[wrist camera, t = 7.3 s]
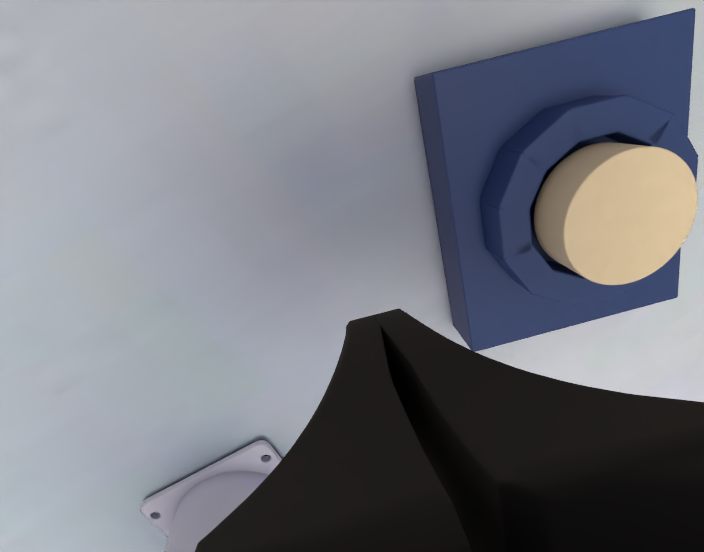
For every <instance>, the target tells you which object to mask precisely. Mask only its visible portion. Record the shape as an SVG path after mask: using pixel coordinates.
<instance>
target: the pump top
mask: <svg viewBox="0 0 704 552" xmlns="http://www.w3.org/2000/svg"><path fill="white" fill-rule="evenodd" d="M697 203H698V193H697V185H696V182H695V178H694V176H693V173H692V171H691V170H690V168H689V167H688V165H687V164H686V163H685V162H684V161H683V160H682V159H681V158H680V157H679V156H678V155H676V154H675V153H673V152H671V151H669V150H667V149H663V148H660V147H652V146H643V145H633V144H624V143H614V142H601V143H596V144H592V145H588V146H585V147H583V148H581V149H579V150H577V151H575V152H574V153H572V154H570V155H569V156H567V157H566V158H565V159H564V160H562V161H561V162H560V163H559V164H558V165H557V166H556V167H555V168H554V169H553V171H552V172H551V173H550V174H549V176H548V177H547V179H546V180H545V182H544V184H543V186H542V188H541V190H540V192H539V195H538V197H537V201H536V205H535V211H534V227H535V232H536V236H537V239H538V241H539V243H540V245H541V247H542V248H543V250H544V251H545V252H546V253H547V254H548V255H549V256H550V257H551V258H552V259H554V260H555V261H557V262H559V263H560V264H562V265H564V266H566V267H567V268H569V269H571V270H572V271H574V272H576V273H578V274H579V275H581V276H583V277H584V278H586V279H588V280H590V281H592V282H595V283H598V284H604V285H622V284H627V283H631V282H634V281H637V280H640V279H642V278H644V277H646V276H648V275H650V274H652V273H653V272H655V271H656V270H658V269H659V268H660V267H662V266H663V265H664V264H665V263H666V262H668V261H669V260H670V259H671V258H672V257H673V255H674V254H675V253H676V252H677V251H678V249H679V248H680V247H681V246H682V244H683V242H684V241H685V239H686V238H687V236H688V234H689V232H690V230H691V227H692V225H693V222H694V219H695V215H696V210H697Z"/></svg>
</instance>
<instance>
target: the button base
mask: <svg viewBox="0 0 704 552" xmlns="http://www.w3.org/2000/svg"><path fill="white" fill-rule="evenodd" d="M694 24H695V9H694V8H691V9H687V10H683V11H679V12H675V13H671V14H667V15H663V16H659V17H655V18H651V19H647V20H643V21H639V22H635V23H631V24H627V25H623V26H619V27H615V28H611V29H607V30H603V31H598V32H594V33H590V34H586V35H582V36H578V37H574V38H570V39H566V40H562V41H558V42H554V43H550V44H546V45H542V46H538V47H534V48H530V49H526V50H522V51H518V52H514V53H510V54H506V55H502V56H498V57H494V58H490V59H486V60H482V61H478V62H474V63H470V64H466V65H462V66H458V67H454V68H450V69H446V70H442V71H438V72H433V73H430V74H426V75H422V76H418V77H415V79H414V82H415V88H416V94H417V100H418V107H419V113H420V119H421V125H422V132H423V138H424V144H425V151H426V157H427V163H428V169H429V176H430V182H431V188H432V194H433V201H434V207H435V213H436V219H437V226H438V232H439V238H440V244H441V251H442V257H443V263H444V269H445V276H446V282H447V288H448V295H449V301H450V307H451V313H452V320H453V325H454V327H455V328H456V330H457V331H458V332H459V334H460V335H461V336H462V338H463V339H464V341H465V342H466V343H467V345H468V346H469V347H470V349H471V350H472V351H474V352H476V351H479V350H483V349H487V348H491V347H494V346H498V345H502V344H505V343H509V342H513V341H517V340H520V339H524V338H528V337H532V336H535V335H539V334H543V333H547V332H550V331H554V330H558V329H561V328H565V327H569V326H573V325H576V324H580V323H584V322H588V321H591V320H595V319H599V318H602V317H606V316H610V315H614V314H617V313H621V312H625V311H629V310H632V309H636V308H640V307H643V306H647V305H651V304H655V303H658V302H662V301H666V300H670V299H673V298H677V296H678V281H679V265H680V249H681V247H680V248H679V249H678V251H677V252H676V253H675V254H674V255H673V257H672V258H671V259H670V260H669V261H668V262H666V263H665V264H664V265H663V266H662V267H660V268H659V269H658V270H656V271H655V272H653V273H652V274H650V275H648V276H646V277H644V278H642V279H640V280H637V281H634V282H631V283H627V284H622V285H604V284H598V283H595V282H592V281H590V280H588V279H586V278H584V277H583V276H581V275H579V274H578V273H576V272H574V271H572V270H571V269H569V268H567V267H566V266H564V265H562V264H560V263H559V262H557V261H555V260H554V259H552V258H551V257H550V256H549V255H548V254H547V253H546V252H545V251H544V250H543V248H542V247H541V245H540V243H539V241H538V239H537V236H536V232H535V227H534V211H535V205H536V201H537V197H538V195H539V192H540V190H541V188H542V186H543V184H544V182H545V180H546V179H547V177H548V176H549V174H550V173H551V172H552V171H553V169H554V168H555V167H556V166H557V165H558V164H559V163H560V162H561V161H562V160H564V159H565V158H566V157H567V156H569V155H570V154H572V153H574V152H575V151H577V150H579V149H581V148H583V147H585V146H588V145H592V144H596V143H601V142H614V143H624V144H633V145H643V146H652V147H660V148H663V149H667V150H669V151H671V152H673V153H675V154H676V155H678V156H679V157H680V158H681V159H682V160H683V161H684V162H685V163H686V164H687V165H688V167H689V168H690V170H691V171H692V173H693V176H694V178H695V182H696V178H697V164H698V155H697V153H696V151H695V149H694V148H693V146H692V144H691V142H690V140H689V139H688V137H687V136H688V120H689V104H690V88H691V72H692V56H693V40H694Z"/></svg>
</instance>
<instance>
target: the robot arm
mask: <svg viewBox="0 0 704 552" xmlns="http://www.w3.org/2000/svg"><path fill="white" fill-rule="evenodd" d="M263 455H269V456H268V457H264V456H263ZM140 511H141V512H142V514H143V515H144V516H145V517H146V518H148V519H149V520H150V521H151V522H152V523H153V524H154V525H155V526H156V527H157V528H158V529H159V530H160V531H161V532H162V533H164V534H165V535H166V536H167V537H168V539H167V543H166V546H165V550H164V552H704V402H696V401H687V400H678V399H669V398H659V397H650V396H641V395H633V394H626V393H621V392H615V391H609V390H604V389H598V388H592V387H587V386H582V385H578V384H573V383H568V382H564V381H560V380H556V379H553V378H549V377H545V376H541V375H538V374H534V373H530V372H527V371H524V370H521V369H518V368H515V367H512V366H509V365H506V364H504V363H501V362H498V361H495V360H493V359H490V358H487V357H485V356H483V355H480V354H478V353H476V352H474V351H472V350H469V349H467V348H465V347H463V346H461V345H459V344H457V343H455V342H453V341H451V340H449V339H447V338H446V337H444V336H442V335H440V334H439V333H437V332H435V331H433V330H432V329H430V328H429V327H427V326H425V325H424V324H422V323H421V322H419V321H418V320H416V319H415V318H413V317H412V316H410V315H409V314H407V313H405V312H404V311H402V310H401V309H395V310H391V311H387V312H384V313H380V314H376V315H372V316H368V317H364V318H360V319H356V320H352V321H350V322H349V323H348V325H347V326H346V336H345V341H344V344H343V348H342V352H341V355H340V358H339V361H338V364H337V367H336V369H335V372H334V374H333V376H332V379H331V381H330V383H329V386H328V388H327V390H326V392H325V394H324V396H323V398H322V400H321V402H320V404H319V406H318V408H317V410H316V411H315V413H314V415H313V416H312V418H311V420H310V421H309V423H308V425H307V426H306V428H305V429H304V431H303V432H302V433H301V435H300V436H299V438H298V439H297V441H296V442H295V444H294V445H293V446H292V448H291V449H290V450H289V452H288V453H287V454H286V456H285V457H284V458H283V459H281V457H280V456H279V455H278V454H277V452H276V451H275V450H274V449H273V447H272V446H271V445H270V444H269V443H268V442H267V441H264V440H259V441H256V442H254V443H252V444H250V445H248V446H246V447H245V448H243V449H241V450H239V451H237V452H235V453H233V454H231V455H229V456H227V457H225V458H224V459H222V460H220V461H218V462H216V463H214V464H212V465H210V466H208V467H206V468H204V469H203V470H201V471H199V472H197V473H195V474H193V475H191V476H189V477H187V478H185V479H183V480H181V481H180V482H178V483H176V484H174V485H172V486H170V487H168V488H166V489H164V490H162V491H160V492H159V493H157V494H155V495H153V496H151V497H149V498H147V499H145V500H144V501H143V503H142V505H141V508H140ZM155 512H158V513H155Z"/></svg>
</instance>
